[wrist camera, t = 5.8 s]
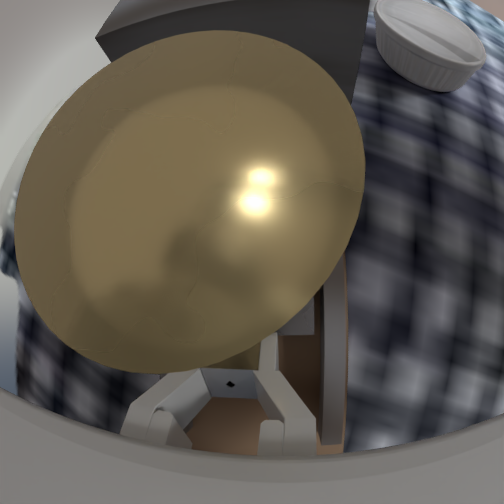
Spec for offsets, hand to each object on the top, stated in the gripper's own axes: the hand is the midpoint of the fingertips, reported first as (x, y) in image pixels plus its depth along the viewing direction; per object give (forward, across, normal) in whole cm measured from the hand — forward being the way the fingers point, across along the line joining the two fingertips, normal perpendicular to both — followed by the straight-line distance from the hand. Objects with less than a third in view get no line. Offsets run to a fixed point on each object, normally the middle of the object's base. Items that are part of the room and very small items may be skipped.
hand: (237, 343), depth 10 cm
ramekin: (+22, -16, -11) cm, 30 cm away
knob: (+6, 0, +1) cm, 6 cm away
